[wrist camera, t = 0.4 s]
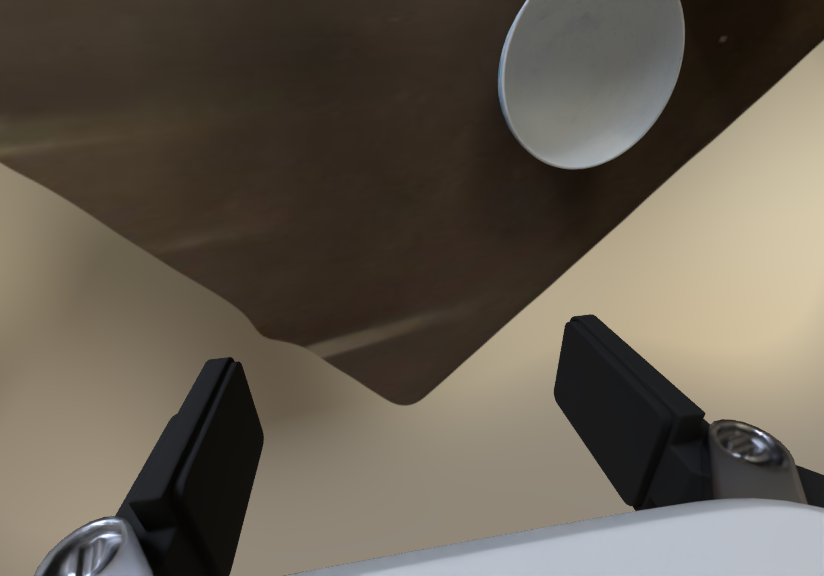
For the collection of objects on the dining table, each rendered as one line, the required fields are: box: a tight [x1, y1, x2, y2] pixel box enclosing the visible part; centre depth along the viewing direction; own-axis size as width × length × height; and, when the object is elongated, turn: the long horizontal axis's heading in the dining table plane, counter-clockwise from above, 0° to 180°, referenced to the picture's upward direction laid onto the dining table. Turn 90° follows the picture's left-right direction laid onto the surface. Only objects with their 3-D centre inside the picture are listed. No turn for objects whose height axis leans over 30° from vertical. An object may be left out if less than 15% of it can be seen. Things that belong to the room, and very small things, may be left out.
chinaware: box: [498, 0, 685, 169], centre depth 33 cm, size 15×15×8 cm
